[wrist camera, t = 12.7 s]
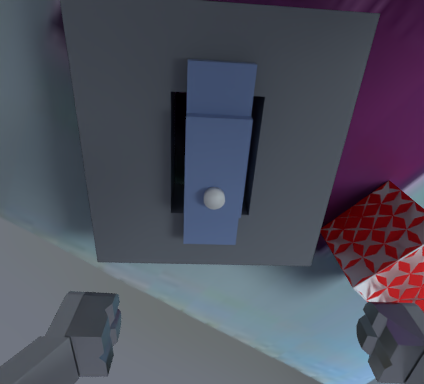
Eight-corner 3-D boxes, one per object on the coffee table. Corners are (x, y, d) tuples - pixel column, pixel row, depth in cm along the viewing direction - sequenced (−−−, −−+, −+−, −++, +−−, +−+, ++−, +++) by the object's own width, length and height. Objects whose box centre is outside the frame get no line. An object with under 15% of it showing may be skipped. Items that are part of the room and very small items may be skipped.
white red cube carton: (425, 229, 32) (488, 286, 25) (359, 271, 35) (399, 333, 28) (388, 179, 29) (448, 228, 22) (318, 229, 32) (352, 287, 25)
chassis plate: (344, 15, 22) (380, 13, 18) (294, 232, 32) (310, 266, 27) (86, -4, 21) (58, -11, 17) (111, 227, 30) (97, 262, 26)
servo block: (243, 54, 24) (261, 67, 17) (228, 203, 30) (237, 256, 23) (189, 51, 23) (187, 63, 17) (186, 202, 29) (182, 255, 23)
